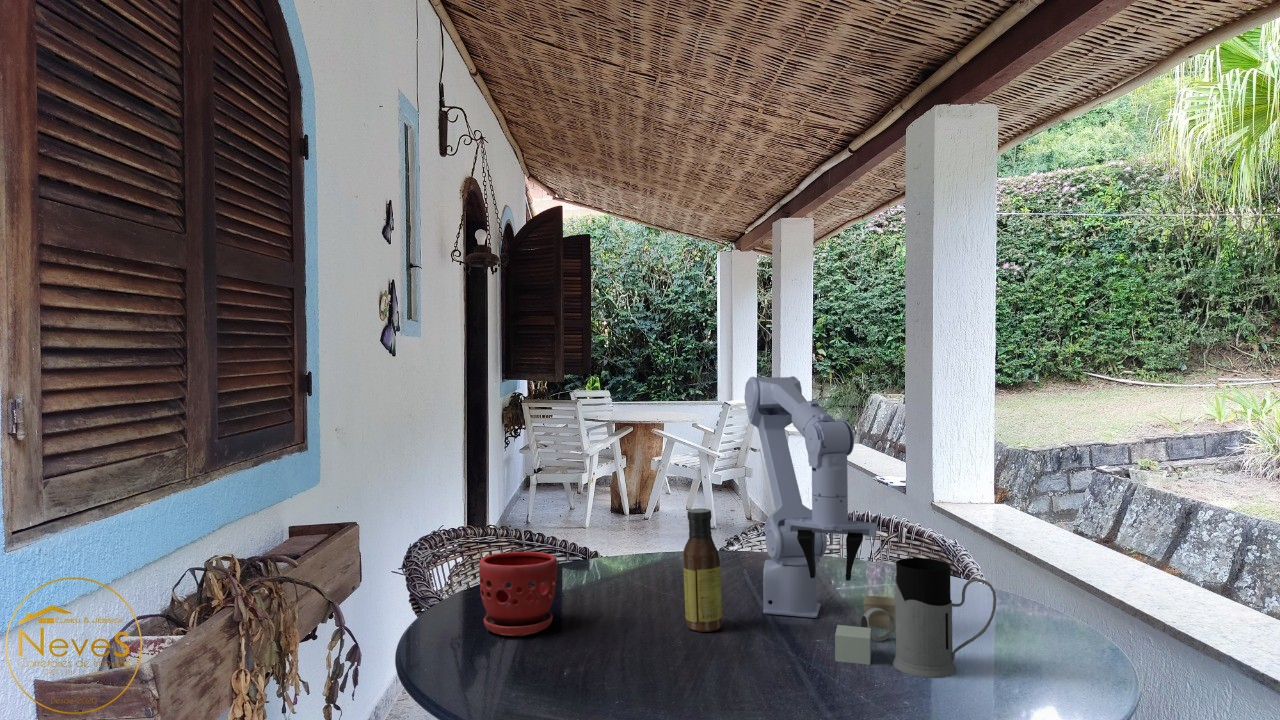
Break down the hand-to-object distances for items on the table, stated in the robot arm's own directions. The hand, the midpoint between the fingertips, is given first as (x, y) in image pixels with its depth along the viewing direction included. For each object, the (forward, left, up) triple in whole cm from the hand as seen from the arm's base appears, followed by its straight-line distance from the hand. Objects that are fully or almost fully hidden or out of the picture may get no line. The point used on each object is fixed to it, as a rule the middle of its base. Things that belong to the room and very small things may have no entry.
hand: (830, 577), depth 131 cm
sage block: (+4, -9, -10) cm, 14 cm away
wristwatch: (+8, 0, -10) cm, 12 cm away
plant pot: (-51, -11, -10) cm, 53 cm away
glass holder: (+17, -11, -10) cm, 22 cm away
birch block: (+8, +9, -10) cm, 15 cm away
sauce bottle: (-21, -2, -10) cm, 23 cm away
